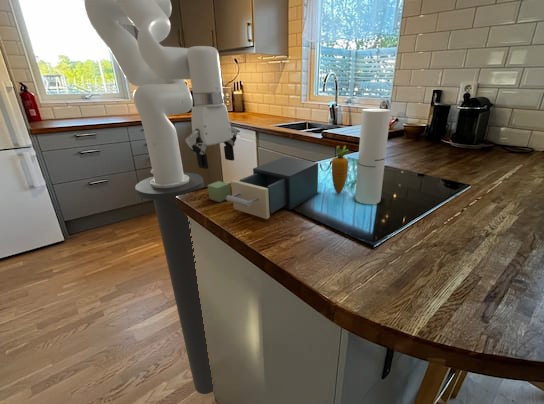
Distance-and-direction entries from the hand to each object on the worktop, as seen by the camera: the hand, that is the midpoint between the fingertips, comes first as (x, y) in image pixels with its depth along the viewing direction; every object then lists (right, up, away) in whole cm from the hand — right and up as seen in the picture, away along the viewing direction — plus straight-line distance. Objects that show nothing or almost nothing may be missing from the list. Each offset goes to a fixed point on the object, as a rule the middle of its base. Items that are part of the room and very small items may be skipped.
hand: (217, 163), depth 84 cm
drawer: (+13, -12, -4) cm, 18 cm away
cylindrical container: (+43, -10, +3) cm, 44 cm away
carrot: (+35, -9, +7) cm, 37 cm away
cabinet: (+20, -9, +5) cm, 22 cm away
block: (0, -10, +4) cm, 11 cm away
